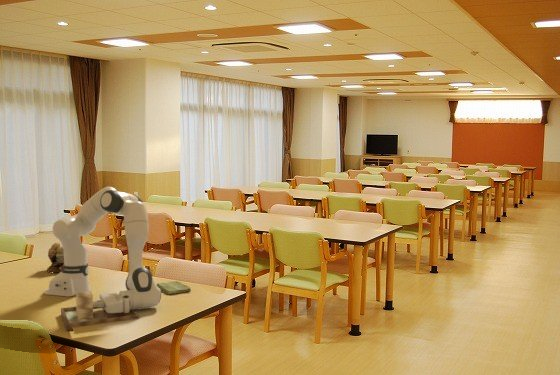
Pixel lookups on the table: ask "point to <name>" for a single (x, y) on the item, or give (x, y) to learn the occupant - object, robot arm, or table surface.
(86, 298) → the maple block
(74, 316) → the tray
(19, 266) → the table surface
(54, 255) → the owl figurine
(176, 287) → the washcloth
